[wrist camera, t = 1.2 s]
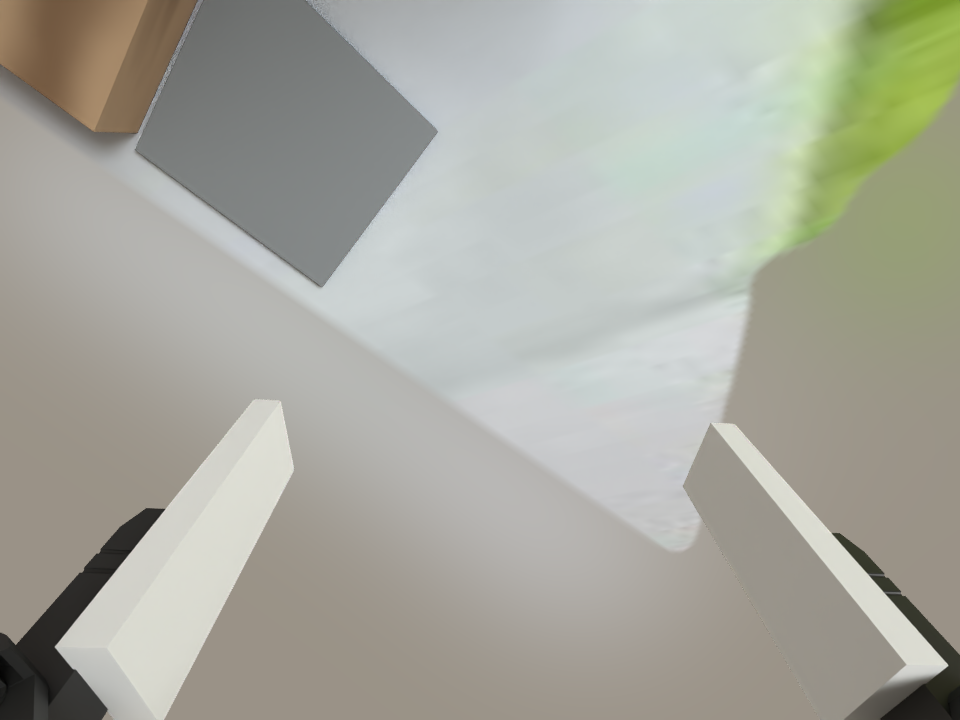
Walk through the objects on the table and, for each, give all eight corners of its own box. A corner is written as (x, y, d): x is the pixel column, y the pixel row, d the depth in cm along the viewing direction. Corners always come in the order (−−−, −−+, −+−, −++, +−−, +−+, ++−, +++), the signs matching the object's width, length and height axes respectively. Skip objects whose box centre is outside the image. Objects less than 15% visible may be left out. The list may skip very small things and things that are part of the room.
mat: (138, 149, 31) (135, 149, 31) (238, -66, 26) (234, -69, 25) (323, 285, 36) (321, 287, 36) (438, 131, 31) (437, 131, 30)
